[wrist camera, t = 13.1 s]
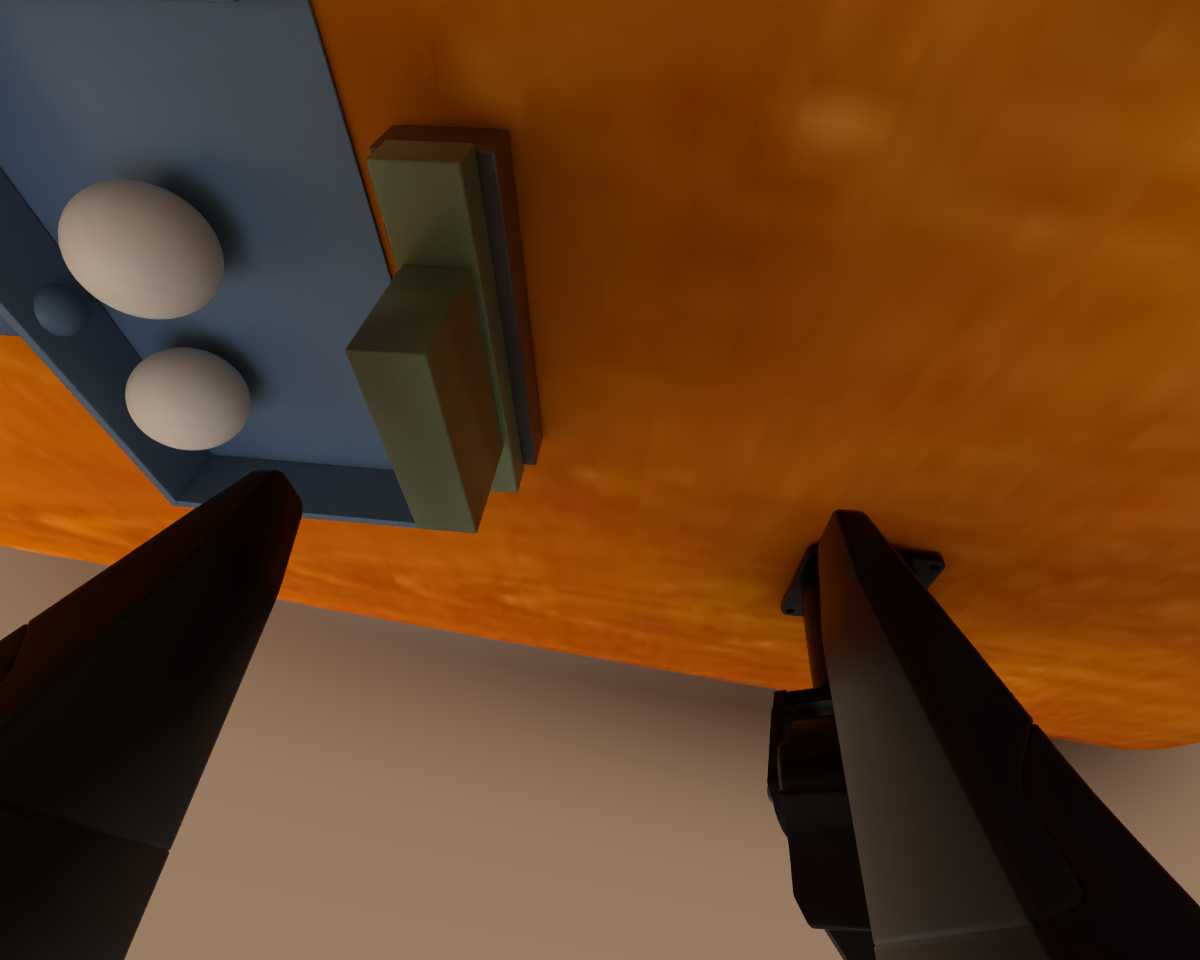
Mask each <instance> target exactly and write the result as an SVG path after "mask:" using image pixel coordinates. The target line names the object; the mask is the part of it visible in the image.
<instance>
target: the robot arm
mask: <svg viewBox="0 0 1200 960" xmlns="http://www.w3.org/2000/svg"><path fill="white" fill-rule="evenodd" d="M302 513H303V503H302V500H301V498H300V496H299V495H298V493H297V492H296V490H295V489H294V487H293V486H292V484H291V483H290V481H289V480H288V478H287V477H286V475H285V474H284V473H283V472H282V471H280V470H276V469H262V468H259V469H254V470H252V471H250V472H248V473H247V474H245V475H244V476H242V477H241V478H239V479H238V480H237V481H235V482H234V483H232V484H231V485H229V486H228V487H226V488H225V489H223V490H222V491H220V492H219V493H217V494H216V495H214V496H213V497H211V498H210V499H208V500H207V501H206V502H204V503H203V504H201V505H200V506H198V507H197V508H195V509H194V510H192V511H191V512H189V513H188V514H186V515H185V516H183V517H182V518H180V519H179V520H178V521H176V522H175V523H173V524H172V525H170V526H169V527H167V528H166V529H164V530H163V531H161V532H160V533H158V534H157V535H155V536H154V537H152V538H151V539H150V540H148V541H147V542H145V543H144V544H142V545H141V546H139V547H138V548H136V549H135V550H133V551H132V552H130V553H129V554H127V555H126V556H124V557H123V558H122V559H120V560H119V561H117V562H116V563H114V564H113V565H111V566H110V567H108V568H107V569H105V570H104V571H102V572H101V573H99V574H98V575H97V576H95V577H93V578H92V579H91V580H89V581H88V582H86V583H85V584H83V585H82V586H80V587H79V588H77V589H76V590H74V591H73V592H71V593H70V594H68V595H67V596H66V597H64V598H62V599H61V600H60V601H58V602H57V603H55V604H54V605H52V606H51V607H49V608H48V609H46V610H45V611H43V612H42V613H40V614H39V615H38V616H36V617H34V618H33V619H32V620H30V621H29V623H28V625H27V624H25V625H23V626H21V627H20V628H18V629H17V630H15V631H14V632H12V633H11V634H9V635H8V636H6V637H5V638H3V639H2V640H0V960H124V959H125V956H126V954H127V952H128V949H129V947H130V945H131V942H132V940H133V938H134V935H135V933H136V930H137V928H138V926H139V923H140V921H141V919H142V916H143V914H144V912H145V909H146V907H147V905H148V902H149V900H150V897H151V895H152V893H153V890H154V888H155V886H156V883H157V881H158V879H159V876H160V874H161V871H162V869H163V867H164V864H165V862H166V859H167V857H168V855H169V850H170V849H171V847H172V845H173V842H174V840H175V837H176V835H177V832H178V830H179V828H180V826H181V823H182V821H183V818H184V816H185V814H186V811H187V809H188V807H189V804H190V802H191V800H192V797H193V795H194V792H195V790H196V788H197V785H198V783H199V780H200V778H201V776H202V774H203V771H204V769H205V766H206V764H207V762H208V759H209V757H210V754H211V752H212V750H213V748H214V745H215V743H216V740H217V738H218V736H219V733H220V731H221V729H222V726H223V724H224V722H225V719H226V717H227V714H228V712H229V710H230V707H231V705H232V702H233V700H234V698H235V695H236V693H237V691H238V688H239V686H240V683H241V681H242V679H243V677H244V674H245V672H246V669H247V667H248V665H249V662H250V660H251V658H252V655H253V653H254V650H255V648H256V645H257V643H258V641H259V639H260V636H261V634H262V632H263V629H264V627H265V625H266V622H267V620H268V617H269V615H270V612H271V610H272V608H273V606H274V603H275V600H276V598H277V595H278V593H279V590H280V587H281V584H282V581H283V578H284V574H285V571H286V568H287V564H288V561H289V557H290V554H291V551H292V547H293V544H294V541H295V537H296V534H297V530H298V527H299V524H300V520H301V517H302ZM945 567H946V565H945V562H944V560H943V557H942V556H940V555H934V554H923V553H912V552H901V551H896V550H895V549H894V548H893V547H892V545H891V544H890V543H889V542H888V540H887V539H886V538H885V537H884V536H883V534H882V533H881V532H880V531H879V529H878V528H877V527H876V526H875V524H874V523H873V522H872V521H871V520H870V518H869V517H868V516H867V515H866V514H865V513H863V512H862V511H857V510H843V509H838V510H836V511H834V512H833V514H832V515H831V517H830V520H829V522H828V524H827V526H826V528H825V530H824V532H823V534H822V537H821V539H820V542H819V544H816V545H812V546H810V547H809V548H808V549H807V551H806V553H805V555H804V557H803V559H802V561H801V564H800V566H799V568H798V570H797V572H796V574H795V576H794V578H793V580H792V582H791V584H790V586H789V588H788V590H787V592H786V594H785V596H784V598H783V601H782V603H781V612H782V613H783V614H785V615H792V616H802V617H803V619H804V626H805V633H806V641H807V648H808V655H809V662H810V670H811V677H812V684H813V688H811V689H803V690H796V691H788V692H787V691H786V690H780V691H775V692H774V701H773V707H772V712H771V729H770V745H769V761H768V762H769V763H768V778H767V783H768V787H767V793H768V797H769V799H770V801H771V802H772V803H773V804H774V808H775V812H776V815H777V818H778V821H779V823H780V826H781V828H782V830H783V832H784V833H785V835H786V837H788V843H789V852H790V862H791V873H792V884H793V894H794V897H795V899H796V901H797V903H798V905H799V907H800V909H801V911H802V913H803V915H804V917H805V919H806V921H807V923H808V924H809V925H810V926H811V927H812V928H814V929H824V930H825V931H826V933H827V934H828V936H829V938H830V939H831V941H832V942H833V944H834V946H835V947H836V948H837V950H838V952H839V953H840V955H841V956H842V958H843V960H1200V906H1199V905H1198V904H1197V903H1196V902H1195V901H1194V900H1193V899H1192V898H1191V897H1190V896H1189V894H1188V893H1187V892H1186V891H1185V890H1184V889H1183V888H1182V887H1181V886H1180V885H1179V884H1178V883H1177V882H1176V881H1175V879H1174V878H1173V877H1172V876H1171V875H1170V874H1169V873H1168V872H1167V871H1166V870H1165V869H1164V868H1163V867H1162V866H1161V865H1160V864H1159V863H1158V861H1157V860H1156V859H1155V858H1154V857H1153V856H1152V855H1151V854H1150V853H1149V852H1148V851H1147V850H1146V849H1145V848H1144V847H1143V846H1142V844H1141V843H1140V842H1139V841H1138V840H1137V839H1136V838H1135V837H1134V836H1133V835H1132V834H1131V833H1130V831H1129V830H1128V829H1127V828H1126V827H1125V826H1124V825H1123V824H1122V823H1121V822H1120V821H1119V819H1118V818H1117V817H1116V816H1115V815H1114V814H1113V813H1112V812H1111V811H1110V810H1109V809H1108V807H1107V806H1106V805H1105V804H1104V803H1103V802H1102V801H1101V800H1100V799H1099V798H1098V796H1097V795H1096V794H1095V793H1094V792H1093V791H1092V790H1091V788H1090V787H1089V786H1088V785H1087V784H1086V782H1085V781H1084V780H1083V779H1082V778H1081V777H1080V775H1079V774H1078V773H1077V772H1076V771H1075V769H1074V768H1073V767H1072V766H1071V765H1070V764H1069V762H1068V761H1067V760H1066V759H1065V758H1064V756H1063V755H1062V754H1061V753H1060V752H1059V751H1058V749H1057V748H1056V747H1055V746H1054V744H1053V743H1052V742H1051V741H1050V739H1049V738H1048V737H1047V736H1046V734H1045V733H1044V732H1043V731H1042V730H1041V728H1040V727H1039V726H1038V725H1036V724H1033V719H1032V718H1031V716H1030V715H1029V714H1028V713H1027V711H1026V710H1025V709H1024V708H1023V707H1022V705H1021V704H1020V703H1019V702H1018V700H1017V699H1016V698H1015V697H1014V695H1013V694H1012V693H1011V692H1010V691H1009V689H1008V688H1007V687H1006V686H1005V684H1004V683H1003V682H1002V681H1001V679H1000V678H999V677H998V676H997V675H996V673H995V672H994V671H993V670H992V668H991V667H990V666H989V665H988V663H987V662H986V661H985V660H984V659H983V657H982V656H981V655H980V654H979V652H978V651H977V650H976V649H975V647H974V646H973V645H972V644H971V643H970V641H969V640H968V639H967V638H966V636H965V635H964V634H963V633H962V632H961V630H960V629H959V628H958V627H957V625H956V624H955V623H954V622H953V620H952V619H951V618H950V617H949V616H948V614H947V613H946V612H945V611H944V609H943V608H942V607H941V606H940V604H939V603H938V602H937V601H936V600H935V598H934V597H933V596H932V595H931V593H930V592H929V591H928V590H927V589H928V588H929V586H930V585H931V584H932V583H933V582H934V580H935V579H936V578H937V577H938V576H939V574H940V573H941V572H942V571H943V570H944V569H945Z"/></svg>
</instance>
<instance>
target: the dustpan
mask: <svg viewBox="0 0 1200 960" xmlns="http://www.w3.org/2000/svg"><path fill="white" fill-rule="evenodd" d="M0 167H1V168H2V170H3V171H4V172H5V174H6V175H7V176H8V178H9V179H10V181H11V182H12V183H13V185H14V186H15V187H16V189H17V190H18V191H19V193H20V194H21V195H22V197H23V198H24V200H25V201H26V202H27V204H28V205H29V206H30V208H31V209H32V210H33V212H34V213H35V215H36V216H37V217H38V219H39V220H40V221H41V223H42V224H43V225H44V227H45V228H46V229H47V231H48V232H49V234H50V235H51V236H52V238H53V239H54V240H55V242H56V243H57V244H58V246H59V241H58V226H59V220H60V217H61V214H62V212H63V210H64V208H65V207H66V205H67V203H68V202H69V201H70V200H71V199H72V198H73V196H75V195H76V194H77V193H79V192H80V191H81V190H83V189H85V188H87V187H89V186H91V185H93V184H96V183H100V182H104V181H110V180H134V181H141V182H145V183H149V184H153V185H156V186H158V187H161V188H164V189H166V190H168V191H170V192H172V193H174V194H176V195H177V196H179V197H181V198H182V199H184V200H185V201H186V202H188V203H189V204H190V205H192V206H193V207H194V208H195V209H196V210H197V211H198V212H199V213H200V214H201V215H202V216H203V217H204V218H205V219H206V220H207V222H208V223H209V224H210V226H211V227H212V229H213V230H214V232H215V234H216V236H217V238H218V240H219V243H220V245H221V248H222V252H223V258H224V274H223V279H222V282H221V285H220V287H219V289H218V291H217V293H216V294H215V296H214V297H213V298H212V299H211V300H210V301H209V302H208V303H207V304H206V305H205V306H203V307H202V308H201V309H199V310H197V311H195V312H193V313H191V314H189V315H186V316H183V317H178V318H173V319H147V318H141V317H136V316H133V315H129V314H126V313H123V312H121V311H119V310H116V309H114V308H112V307H110V306H108V305H106V304H105V303H103V302H101V301H100V300H99V301H100V303H101V304H102V305H101V304H100V303H99V301H98V300H97V299H96V298H95V297H94V296H93V295H92V294H90V293H89V292H88V291H87V290H86V289H85V288H84V287H83V286H82V285H81V284H80V283H79V282H78V281H77V280H76V278H75V277H74V276H73V275H72V273H71V272H70V270H69V269H68V267H67V265H66V263H65V261H64V259H63V257H62V254H61V250H60V249H59V247H58V246H57V244H56V243H55V242H54V240H53V239H52V238H51V236H50V235H49V234H48V232H47V231H46V230H45V228H44V227H43V225H42V224H41V223H40V221H39V220H38V219H37V217H36V216H35V215H34V213H33V212H32V211H31V209H30V208H29V206H28V205H27V204H26V202H25V201H24V200H23V198H22V197H21V196H20V194H19V193H18V192H17V190H16V189H15V187H14V186H13V185H12V183H11V182H10V181H9V179H8V178H7V177H6V175H5V174H4V173H3V171H2V170H1V169H0V335H12V336H21V337H22V338H23V340H24V341H25V342H26V343H27V344H28V345H29V346H30V347H31V348H32V350H33V351H34V352H35V353H36V354H37V355H38V356H39V357H40V358H41V360H42V361H43V362H44V363H45V364H46V365H47V366H48V367H49V368H50V370H51V371H52V372H53V373H54V374H55V375H56V376H57V377H58V378H59V380H60V381H61V382H62V383H63V384H64V385H65V386H66V387H67V388H68V390H69V391H70V392H71V393H72V394H73V395H74V396H75V397H76V398H77V400H78V401H79V402H80V403H81V404H82V405H83V406H84V407H85V409H86V410H87V411H88V412H89V413H90V414H91V415H92V416H93V417H94V419H95V420H96V421H97V422H98V423H99V424H100V425H101V426H102V427H103V429H104V430H105V431H106V432H107V433H108V434H109V435H110V436H111V437H112V439H113V440H114V441H115V442H116V443H117V444H118V445H119V446H120V447H121V449H122V450H123V451H124V452H125V453H126V454H127V455H128V456H129V457H130V459H131V460H132V461H133V462H134V463H135V464H136V465H137V466H138V467H139V469H140V470H141V471H142V472H143V473H144V474H145V475H146V476H147V477H148V479H149V480H150V481H151V482H152V483H153V484H154V485H155V486H156V487H157V489H158V490H159V491H160V492H161V493H162V494H163V495H164V496H165V498H166V499H167V500H168V501H169V502H170V503H171V504H172V505H173V506H183V507H193V508H197V507H198V506H200V505H201V504H203V503H204V502H206V501H207V500H208V499H210V498H211V497H213V496H214V495H216V494H217V493H219V492H220V491H222V490H223V489H225V488H226V487H228V486H229V485H231V484H232V483H234V482H235V481H237V480H238V479H239V478H241V477H242V476H244V475H245V474H247V473H248V472H250V471H252V470H254V469H259V468H262V469H276V470H280V471H282V472H283V473H284V474H285V475H286V477H287V478H288V480H289V481H290V483H291V484H292V486H293V487H294V489H295V490H296V492H297V493H298V495H299V496H300V498H301V500H302V503H303V513H302V517H301V518H312V519H323V520H334V521H345V522H356V523H366V524H377V525H388V526H399V527H410V528H417V526H416V523H415V521H414V519H413V516H412V514H411V511H410V509H409V506H408V504H407V501H406V499H405V497H404V494H403V492H402V489H401V487H400V484H399V482H398V480H397V477H396V475H395V472H394V470H393V467H392V465H391V462H390V460H389V458H388V455H387V453H386V450H385V448H384V445H383V443H382V441H381V438H380V436H379V433H378V431H377V428H376V426H375V423H374V421H373V419H372V416H371V414H370V411H369V409H368V406H367V404H366V401H365V399H364V397H363V394H362V392H361V389H360V387H359V384H358V382H357V380H356V377H355V375H354V372H353V370H352V367H351V365H350V362H349V360H348V358H347V355H346V353H345V349H346V347H347V346H348V344H349V343H350V341H351V340H352V338H353V337H354V335H355V334H356V332H357V331H358V329H359V328H360V326H361V325H362V323H363V322H364V321H365V319H366V318H367V316H368V315H369V313H370V312H371V310H372V309H373V307H374V306H375V304H376V303H377V301H378V300H379V298H380V297H381V295H382V294H383V292H384V291H385V289H386V288H387V287H388V285H389V284H390V282H391V281H392V278H391V274H390V271H389V268H388V264H387V261H386V258H385V254H384V251H383V247H382V244H381V241H380V237H379V234H378V230H377V227H376V224H375V220H374V217H373V213H372V210H371V207H370V203H369V200H368V197H367V193H366V190H365V186H364V183H363V180H362V176H361V173H360V169H359V166H358V163H357V159H356V156H355V152H354V149H353V146H352V142H351V139H350V135H349V132H348V129H347V125H346V122H345V119H344V115H343V112H342V108H341V105H340V102H339V98H338V95H337V91H336V88H335V85H334V81H333V78H332V74H331V71H330V68H329V64H328V61H327V58H326V54H325V51H324V47H323V44H322V41H321V37H320V34H319V30H318V27H317V24H316V20H315V17H314V13H313V10H312V7H311V3H310V0H0ZM102 306H103V307H104V308H105V310H106V311H107V312H108V314H109V315H110V316H111V318H112V319H113V320H114V322H115V323H116V324H115V323H114V322H113V320H112V319H111V318H110V316H109V315H108V314H107V312H106V311H105V310H104V308H103V307H102ZM116 325H117V326H118V327H119V328H118V327H117V326H116ZM119 329H120V330H121V331H122V333H123V334H124V335H125V337H126V338H127V339H128V341H129V342H130V343H129V342H128V341H127V339H126V338H125V337H124V335H123V334H122V333H121V331H120V330H119ZM130 344H131V345H132V346H133V347H132V346H131V345H130ZM133 348H134V349H135V350H136V352H137V353H138V354H139V356H140V357H141V358H140V357H139V356H138V354H137V353H136V352H135V350H134V349H133ZM171 348H195V349H200V350H204V351H207V352H210V353H213V354H215V355H217V356H219V357H221V358H223V359H224V360H226V361H227V362H228V363H230V364H231V365H232V366H233V367H234V368H235V369H236V370H237V371H238V372H239V373H240V374H241V376H242V377H243V379H244V380H245V382H246V384H247V387H248V389H249V393H250V398H251V408H250V413H249V416H248V419H247V421H246V423H245V425H244V427H243V428H242V429H241V431H240V432H239V433H238V434H237V435H236V436H234V437H233V438H232V439H230V440H229V441H227V442H225V443H224V444H221V445H219V446H217V447H213V448H210V449H204V450H182V449H176V448H172V447H169V446H166V445H164V444H161V443H159V442H157V441H155V440H154V439H152V438H151V437H149V436H148V435H146V434H145V433H144V432H143V431H142V430H141V429H140V428H139V427H138V426H137V425H136V423H135V422H134V421H133V419H132V417H131V416H130V414H129V411H128V408H127V405H126V399H125V390H126V385H127V381H128V379H129V376H130V375H131V373H132V371H133V370H134V369H135V367H136V366H137V365H138V364H139V363H140V362H142V360H144V359H146V358H147V357H149V356H150V355H152V354H154V353H157V352H159V351H162V350H165V349H171ZM141 359H142V360H141ZM208 450H209V451H210V452H211V453H210V452H209V451H208ZM211 454H212V455H211ZM420 529H421V528H420Z"/></svg>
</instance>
